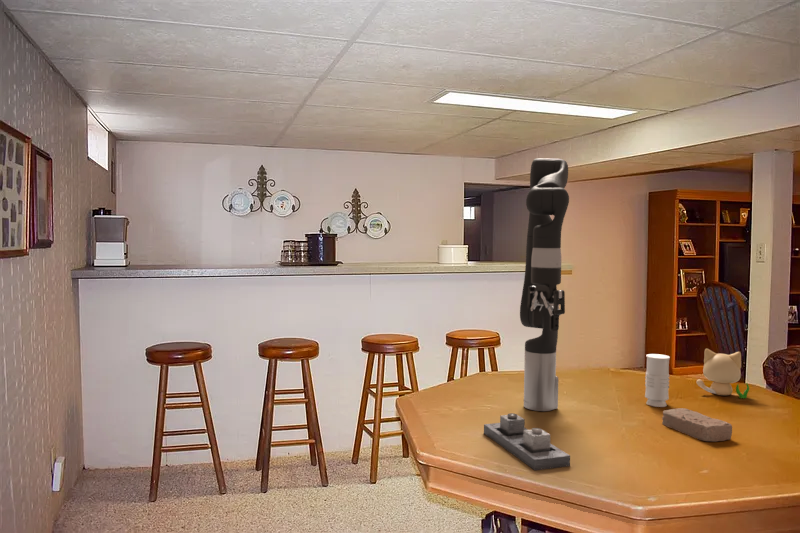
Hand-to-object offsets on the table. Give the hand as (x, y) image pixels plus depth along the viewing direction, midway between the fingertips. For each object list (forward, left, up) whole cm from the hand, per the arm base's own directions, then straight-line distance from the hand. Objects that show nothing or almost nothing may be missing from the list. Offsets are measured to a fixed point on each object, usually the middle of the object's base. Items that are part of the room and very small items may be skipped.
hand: (544, 327), depth 158 cm
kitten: (-78, -18, -28) cm, 85 cm away
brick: (-40, +10, -29) cm, 50 cm away
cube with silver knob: (+10, +14, -28) cm, 33 cm away
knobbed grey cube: (+10, +2, -28) cm, 30 cm away
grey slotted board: (+10, +8, -28) cm, 31 cm away
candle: (-49, -15, -28) cm, 58 cm away
